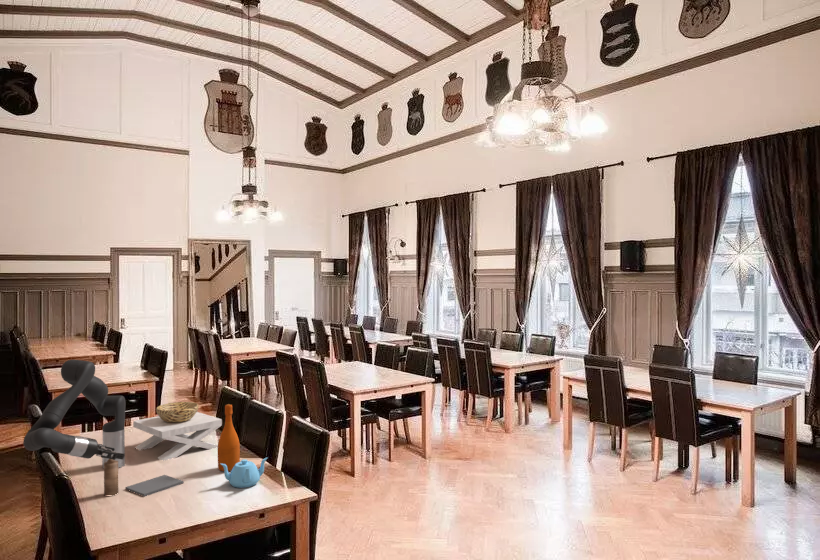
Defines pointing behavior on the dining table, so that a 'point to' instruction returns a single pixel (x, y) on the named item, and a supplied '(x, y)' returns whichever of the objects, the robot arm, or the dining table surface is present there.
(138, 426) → the white x-leg bench
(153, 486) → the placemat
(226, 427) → the wine bottle
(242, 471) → the teapot
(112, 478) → the pepper mill
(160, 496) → the dining table surface
